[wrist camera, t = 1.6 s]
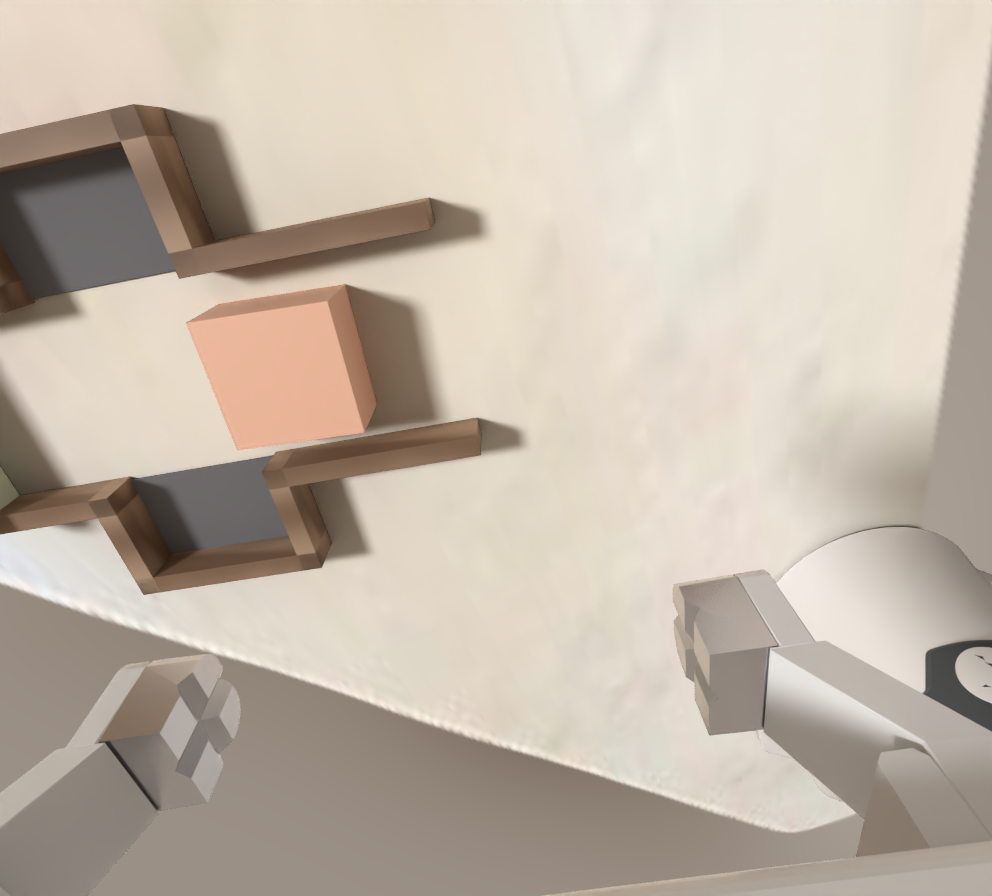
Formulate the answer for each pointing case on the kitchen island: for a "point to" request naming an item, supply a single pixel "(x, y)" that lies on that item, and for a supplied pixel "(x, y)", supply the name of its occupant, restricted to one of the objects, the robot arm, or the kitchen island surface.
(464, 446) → the box
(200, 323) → the block
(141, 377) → the kitchen island surface
